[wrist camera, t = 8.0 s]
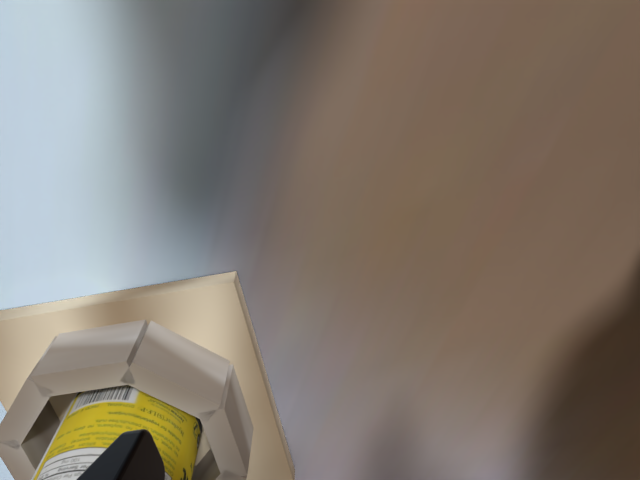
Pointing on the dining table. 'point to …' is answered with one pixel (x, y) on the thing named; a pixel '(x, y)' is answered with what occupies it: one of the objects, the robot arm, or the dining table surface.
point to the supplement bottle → (119, 432)
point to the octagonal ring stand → (145, 371)
